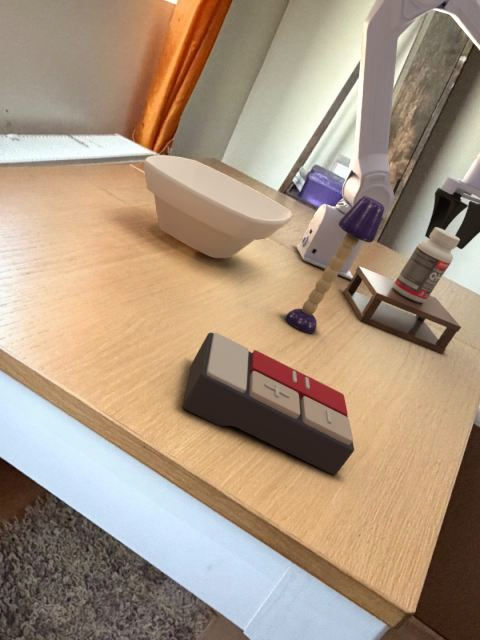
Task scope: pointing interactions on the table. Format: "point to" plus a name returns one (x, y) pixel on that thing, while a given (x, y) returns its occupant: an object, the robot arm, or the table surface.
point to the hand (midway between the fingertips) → (443, 242)
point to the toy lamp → (340, 257)
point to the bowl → (209, 206)
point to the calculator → (269, 402)
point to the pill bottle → (426, 266)
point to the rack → (399, 311)
